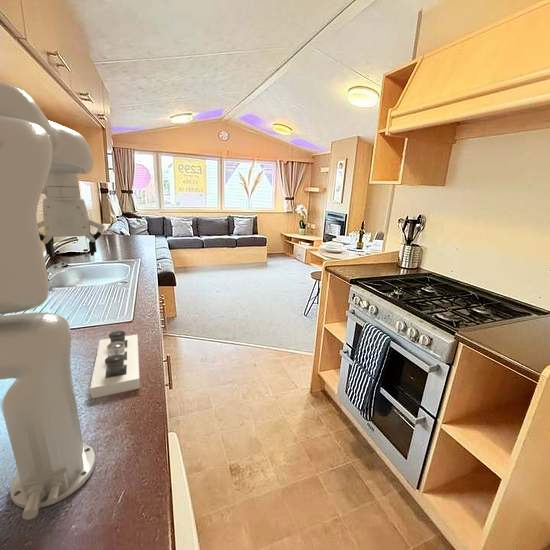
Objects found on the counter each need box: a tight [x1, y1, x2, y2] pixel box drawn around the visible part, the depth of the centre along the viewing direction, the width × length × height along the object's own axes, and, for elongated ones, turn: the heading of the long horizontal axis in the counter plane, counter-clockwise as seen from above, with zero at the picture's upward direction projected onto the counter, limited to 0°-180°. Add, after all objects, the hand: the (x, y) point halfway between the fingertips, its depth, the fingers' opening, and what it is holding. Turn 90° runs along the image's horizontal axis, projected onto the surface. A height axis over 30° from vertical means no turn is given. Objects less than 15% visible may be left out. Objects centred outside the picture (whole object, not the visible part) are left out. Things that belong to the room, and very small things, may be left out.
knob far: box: [108, 330, 127, 345], centre depth 94 cm, size 5×5×4 cm
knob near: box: [105, 354, 125, 377], centre depth 81 cm, size 5×5×4 cm
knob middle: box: [107, 342, 125, 358], centre depth 87 cm, size 5×5×4 cm
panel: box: [89, 334, 141, 399], centre depth 88 cm, size 26×11×3 cm, turn 24°
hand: (72, 255), depth 86 cm, fingers open, 9 cm apart
